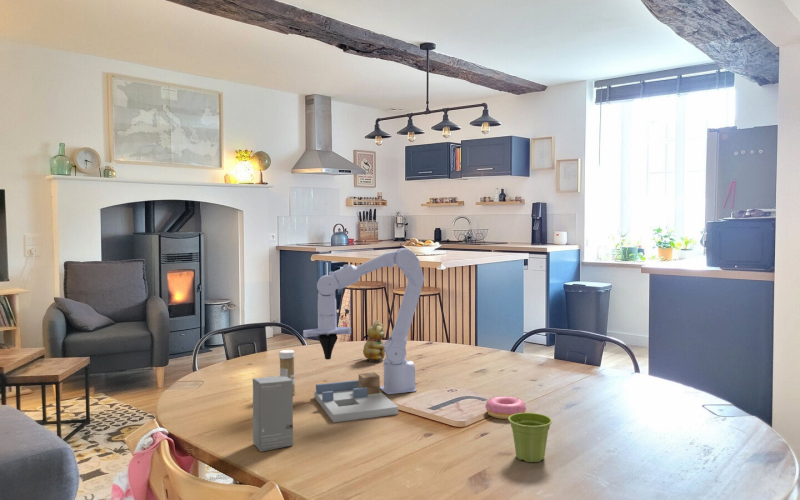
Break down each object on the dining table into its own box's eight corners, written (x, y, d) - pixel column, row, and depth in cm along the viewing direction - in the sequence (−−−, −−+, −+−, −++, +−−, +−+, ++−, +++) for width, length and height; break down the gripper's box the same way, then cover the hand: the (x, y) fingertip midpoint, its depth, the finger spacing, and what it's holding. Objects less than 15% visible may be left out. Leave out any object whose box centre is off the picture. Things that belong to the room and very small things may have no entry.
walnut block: (374, 388, 183) (374, 372, 183) (379, 393, 178) (379, 376, 178) (358, 390, 181) (358, 373, 181) (363, 394, 177) (363, 377, 176)
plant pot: (503, 450, 138) (503, 412, 138) (544, 448, 139) (544, 411, 139) (515, 467, 129) (514, 426, 129) (558, 465, 130) (558, 425, 130)
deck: (372, 391, 188) (371, 376, 187) (398, 414, 165) (398, 397, 165) (314, 397, 182) (314, 382, 181) (333, 422, 159) (333, 405, 159)
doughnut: (528, 410, 168) (528, 395, 167) (523, 423, 157) (523, 407, 157) (489, 406, 171) (489, 392, 171) (481, 419, 161) (481, 403, 161)
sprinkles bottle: (297, 395, 184) (296, 351, 183) (283, 397, 182) (282, 353, 181) (291, 391, 188) (290, 348, 187) (277, 394, 185) (276, 350, 185)
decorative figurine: (384, 363, 224) (384, 322, 223) (362, 363, 224) (361, 323, 223) (385, 357, 233) (385, 318, 233) (364, 357, 234) (363, 318, 233)
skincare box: (259, 452, 139) (258, 384, 138) (252, 442, 145) (250, 377, 144) (295, 446, 143) (294, 379, 142) (286, 436, 149) (285, 372, 148)
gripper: (306, 318, 179) (307, 363, 180) (353, 315, 184) (354, 359, 185) (301, 314, 186) (302, 358, 186) (347, 311, 191) (347, 354, 191)
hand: (327, 358), depth 186 cm, fingers closed
